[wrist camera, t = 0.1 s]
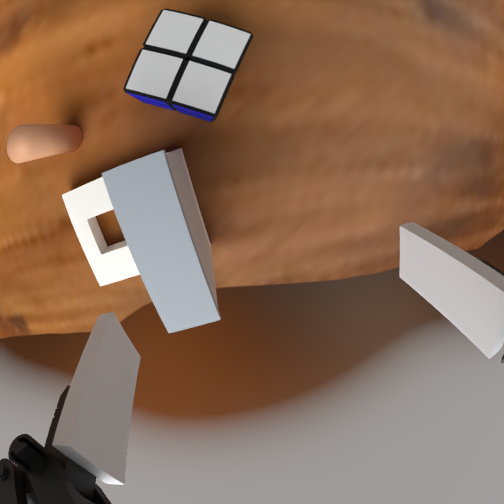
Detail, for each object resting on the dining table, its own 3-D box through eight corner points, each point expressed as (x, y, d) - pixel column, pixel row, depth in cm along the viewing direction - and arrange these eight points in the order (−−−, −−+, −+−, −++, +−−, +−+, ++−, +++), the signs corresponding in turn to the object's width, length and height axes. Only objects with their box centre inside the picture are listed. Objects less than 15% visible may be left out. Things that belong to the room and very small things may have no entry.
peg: (57, 131, 29) (3, 135, 18) (79, 120, 30) (29, 118, 18) (63, 155, 31) (11, 169, 19) (85, 145, 31) (37, 153, 20)
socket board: (69, 187, 33) (0, 225, 18) (180, 144, 34) (163, 150, 19) (107, 279, 39) (69, 354, 24) (211, 247, 40) (220, 319, 25)
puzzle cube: (141, 102, 31) (121, 91, 22) (170, 36, 28) (161, 6, 19) (213, 123, 34) (217, 117, 25) (241, 57, 31) (255, 32, 22)
